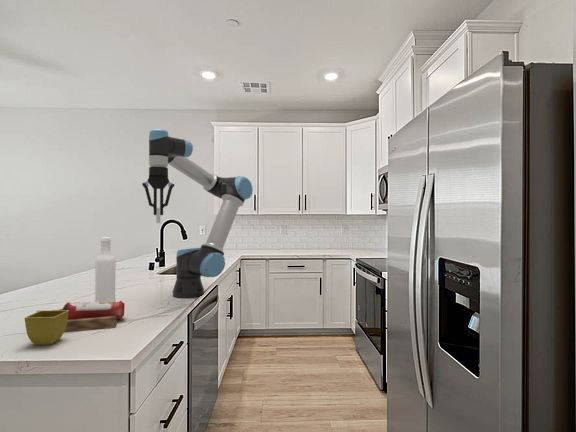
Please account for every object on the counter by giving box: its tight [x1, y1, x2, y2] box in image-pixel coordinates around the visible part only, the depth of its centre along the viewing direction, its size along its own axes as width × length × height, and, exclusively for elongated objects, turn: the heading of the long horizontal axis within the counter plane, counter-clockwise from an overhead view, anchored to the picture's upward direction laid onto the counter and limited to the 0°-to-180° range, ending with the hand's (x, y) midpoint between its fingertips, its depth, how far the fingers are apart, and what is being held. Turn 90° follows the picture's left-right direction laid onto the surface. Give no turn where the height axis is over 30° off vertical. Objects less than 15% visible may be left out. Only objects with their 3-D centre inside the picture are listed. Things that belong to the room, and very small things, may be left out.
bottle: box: [94, 236, 117, 302], centre depth 156 cm, size 8×8×30 cm
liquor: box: [35, 300, 125, 320], centre depth 133 cm, size 7×7×28 cm
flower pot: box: [24, 309, 69, 346], centre depth 113 cm, size 9×9×9 cm
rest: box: [64, 316, 119, 333], centre depth 131 cm, size 25×15×3 cm, turn 111°
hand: (158, 223), depth 153 cm, fingers closed
